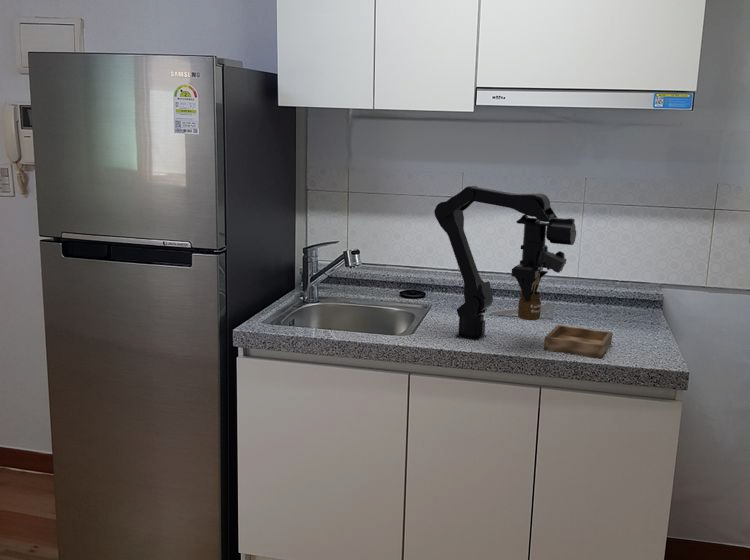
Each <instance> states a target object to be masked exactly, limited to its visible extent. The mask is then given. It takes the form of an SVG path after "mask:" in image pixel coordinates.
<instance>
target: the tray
mask: <svg viewBox="0 0 750 560" xmlns="http://www.w3.org/2000/svg"><path fill="white" fill-rule="evenodd" d="M612 340H613V332H611V331H605V330H598V329H591V328H590V329H588V328H584V327H583V328H582V327H576V326H575V327H574V326H568V325H562V324H561V325H560V324H557V325H556V326H555V327H554V328H553V329H552V330H551V331H550V332H549V333H547V335H545V337H544V343H543V350H544V351H548V350H549V351H550V352H555V351H556V352H555V353H561V352H564V353H563V354H568V353H570V354H569V355H574V354H577V355H576V356H581V355H583V357H587V356H589V357H588V358H594V357H595V358H596V359H600V358H602V359H603V357H604V356H605V355H606V353H607V352H608V350H609V349H610V348H611V346H612ZM608 348H609V349H608ZM606 351H607V352H606Z"/></svg>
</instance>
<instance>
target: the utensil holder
mask: <svg viewBox="0 0 750 560" xmlns="http://www.w3.org/2000/svg"><path fill="white" fill-rule="evenodd" d="M538 277H540V273H539V275H538ZM538 282H539V279H538V280H536V281H535V282H534V290H533V291H532V293H531V297H530V301H525V299H524V296H523V293H522V291H520V294H519V295H520V298H519V299H518V307H517V308H518V313H517V316H518V318H519V319H520V320H525V321H536V320H539V319H540V318H541V313H542V312H541V304H542V301H541V299H540V298H541V293H540V292H539V291H537V292H536V291H535V287H536V285H537V284H538Z"/></svg>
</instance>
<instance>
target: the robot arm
mask: <svg viewBox="0 0 750 560" xmlns="http://www.w3.org/2000/svg"><path fill="white" fill-rule="evenodd" d="M475 202H477V203H481V204H486V205H492V206H496V207H497V206H498V207H503V208H504V207H505V208H508V209H509V208H510V209H512V210H514V211H517V212H518V213H520V214H522V216H521V217H520V218H518V220H516V224H519V225H523V226H524V227H523V238H522V239H523V240H522V241H523V242H522V244H521V245H520V250H522V252H521V253H522V254H521V255H522V256H521V260H519V264H517V265H515V266H514V267H513V268H512V269H511V273H510V274H511V277H512V278H515V279H516V281H517V283H518V285H519V289H520V290H521V291H520V292H522V293H523V296H524V299H525V301H530V297H531V293H532V291H533V290H534V282H535V281H536V280H538V279H539V282H538V284H537V285H536V287H535V291H536V292H538V289H539V286H540V283H541V280H542V278H543V277H545V276H546V275H547V274H548V273H549V271H550V270H552V271H553V272H554V273H560V272H562V271H563V269H564V267H565V265H567V260H568V259H567V258H565V257H566V255H565V253H564V252H563V251H561V250H560V251H557V252H556V253H554V252H551V251H549V250H548V249H549V247H548V245H546V240H547V241H549V243H550V244H555V245H557V244H558V245H565V246H566V245H567V246H573V245H575V241H576V238H577V229H576V224H575V221H576V220H575V218H559V217H558V216H557V215H556V213H555V212H554V210H553V209H552V206H551V201H550V199H549V197H548V196H547V194H544V193H512V192H507V191H501V190H495V189H489V188H484V187H478V186H477V185H469V186H466V187H464V189H462V190H461V191H460V192H458V193H457V194H454V195H453V196H452V197H450V198H449V199H448V200H446V201H440V202H439V203H437V205H436V206H435V209H434V210H433V213H434V216H435V219H436V220H437V222H438V225H439V226H440V228H441V229H442V230H443V231H444V232H445V233H446V235H447V237H448V239H449V242H450V245H451V249H452V251H453V254H454V257H455V260H456V263H457V266H458V268H459V271H460V275H461V277H462V281H463V298H464V303H462V304H461V305H460V306H459V307H458V308H456V312H457V316H458V333H457V334H456V335H455V336H456V337H458V338H464V339H471V340H477V341H478V340H480V339H481V338H482V337H484V336H485V334H486V320H484V319H485V315H484V314H485V313H486V311H487V309H488V308H490V306H491V305H492V303H493V301H494V297H493V296H494V295H495V293H494V292H493V290H492V288H491V283H490V281H489V280H487V281H484V280H483V279H482V278H481V276H480V274H479V270H478V268H477V264H476V262H475V258H474V256H473V253H472V250H471V247H470V244H469V241H468V238H467V236H466V233H465V229H464V228H465V227H464V226H465V225H464V224H465V216H464V211H465V210H466V209H469V208H470V206H471V205H472V204H473V203H475ZM544 269H546V270H544ZM539 273H540V277H538V275H539Z"/></svg>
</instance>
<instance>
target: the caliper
mask: <svg viewBox="0 0 750 560" xmlns="http://www.w3.org/2000/svg"><path fill="white" fill-rule="evenodd" d="M554 309H555V307H554V305H553V303H551V300H550V299H549V301H547V300H545V303H541V312H540V313H542V315H543V317H544V319H545V320H548V314H547V313H548V312H547V311H549V314H550V319H551V320H554V315H555V314H554V313H555V311H554ZM514 314H515V315H516V314H518V307H517V308H507V309H499V310H498V309H497V310H492V311H491V312H488V313H487V316H493V317H494V316H505V315H507V316H508V315H514Z"/></svg>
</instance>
